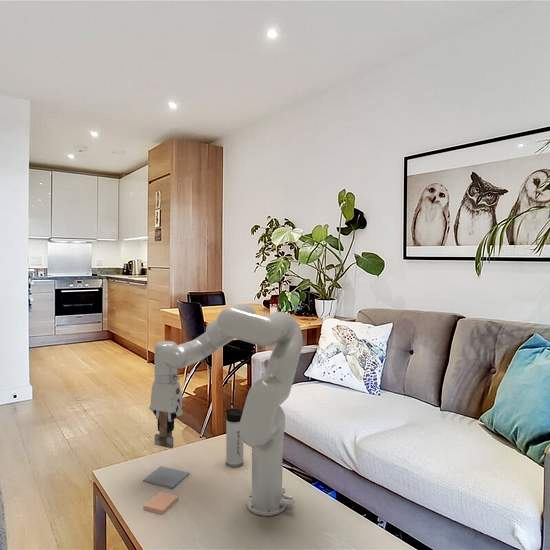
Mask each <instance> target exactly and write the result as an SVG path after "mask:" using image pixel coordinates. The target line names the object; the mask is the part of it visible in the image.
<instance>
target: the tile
mask: <svg viewBox="0 0 550 550" xmlns="http://www.w3.org/2000/svg"><path fill="white" fill-rule="evenodd" d="M178 501H179V496H178V495H174V494H170V493H166V492H162V491H158V492H157V493H156V494H155V495H154V496H152V497H151V498H150V499H149V500H148V501H147V502H146V503H145V504H143V508H142V509H143V510H144V511H146V510H147V512H150V513H155V514H157V515H158V514H159V515H161V516H164V515H165V513H167V512H168V511H169V510H170V509H171V508H172V507H173V506H174V505H175V504H176V503H177V502H178ZM171 506H172V507H171ZM168 509H169V510H168Z"/></svg>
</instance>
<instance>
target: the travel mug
mask: <svg viewBox="0 0 550 550" xmlns="http://www.w3.org/2000/svg"><path fill="white" fill-rule="evenodd" d="M225 413H226V420H225V421H226V423H225V424H226V433H225V436H226V440H225V441H226V443H225V444H226V445H225V447H226V450H225V451H226V454H225V457H226V461H225V463H226V466H228V467H230V468H238V467H241V466H242V465H243V464H244V442H243V440H242V439H241V436H240V432H239V426H240V420H241V417H242V413H243V410H241V409H238V408H229V409H228V408H226V410H225Z"/></svg>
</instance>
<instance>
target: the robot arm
mask: <svg viewBox="0 0 550 550" xmlns="http://www.w3.org/2000/svg"><path fill="white" fill-rule="evenodd" d="M236 339H237V340H239V341H243V342H246V343H249V344H253V345H257V346H262V347H268V346H269V347H270V346H272V345H274V348H273V350H272V352H271V355H270V356H269V361H268V365H267V369H266V371H265V373H264V375H263V376H262V377H260V378H258V379H257V380H256V381H255V382H254V383H252V385H251V386H250V388H249V390H248V392H247V396H246V399H245V403H244V407H243V410H242V411H243V413H242V417H241V420H240V426H239V432H240V436H241V439H242V440H243V444H245V445H246V446H247V447H250V448H251V493H250V494H249V495H248V496H247V498H246V503H245V504H246V507H247V509H248V510H249V511H250V512H251V513H253V514H255V515H259V516H263V517H271V516H275V515H278V514H281V513H283V512H284V511H285V510H286V508H287V507H290V508H294V507H295V504H296V503H295V502H296V501H295V500H294V496H293V495H288V494H287V493H286V488H283V455H284V454H283V453H284V437H285V435H284V434H285V429H286V415H285V414H286V413H285V411H284V409H283V408H282V406H281V405H282V404H283V403H284V402H286V401H287V400H288V398H289V396H290V394H291V391H292V387H293V383H294V379H295V377H296V371H297V367H298V364H299V360H300V356H301V353H302V349H303V348H302V347H303V341H304V340H303V332H302V329H301V327H300V324H299V323H298V322H297V320H296V319H295V318H294V316H292V315H291V314H290V313H287V312H285V311H277V312H272V313H268V314H267V315H263V316H262V315H258V314H257V312H256V310H255V309H254V307H252V306H251V305H249V304H246V303H241V304H236V305H232V306H227V307H226V308H224V309H222V310H221V311H220V312H219V314H218V316H217V317H216V318H215V319H213V320H212V321H211V322H209V323H208V324H207V325H206V327H205V332H204V333H202V334H200V335H199V336H197V337H195V338H194V339H193V340H190V341H187V342H183V343H181V344H177V342H175V341H171V340H162V341H159V342H156V344H155V345H154V380H153V382H152V387H151V393H150V406H149V408H148V409H149V410H150V411H151V412H152V413H153V415H154V416H155V419H156V420H157V431H158V432H159V411H162V412H167V413H168V421H167V433H170V432H171V431H172V432H173V431H174V429H175V419H177V417H180V416H181V415H183V414H184V411H183V397H182V396H183V395H182V389H181V388H182V387H181V384H180V378H181V377H180V376H179V375H178V369H183V368H187V367H189V366H191V365H194V364H195V363H197V362H201V361H202V360H204V359H206V358H208V356H210V355H212V354H214V353H216V352H217V351H218V350H219V349H221V348H222V347H224V346H225V345H228V343H230V342H232V341H234V340H236Z"/></svg>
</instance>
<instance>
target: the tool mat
mask: <svg viewBox="0 0 550 550" xmlns="http://www.w3.org/2000/svg"><path fill="white" fill-rule="evenodd" d="M189 475H190V472H189V471H184V470H180V469H176V468H172V467H167V466H162V465H160V466H159V467H158V468H157V469H155V470H154V471H152V472H151V473H149V474H148V475H147V476H145V478H143V479H142V482H144V483H147V484H153V485H155V484H156V486H159V485H160V487H163V486H164V487H165V488H167V487H169V489H171V488H172V490H173V489H174V488H176V487H177V486H178V485H179V484H180V483H181V482H183V481H184V478H185V477H186V478H187V477H188V476H189ZM178 483H179V484H178ZM177 484H178V485H177ZM164 487H163V488H164Z"/></svg>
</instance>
